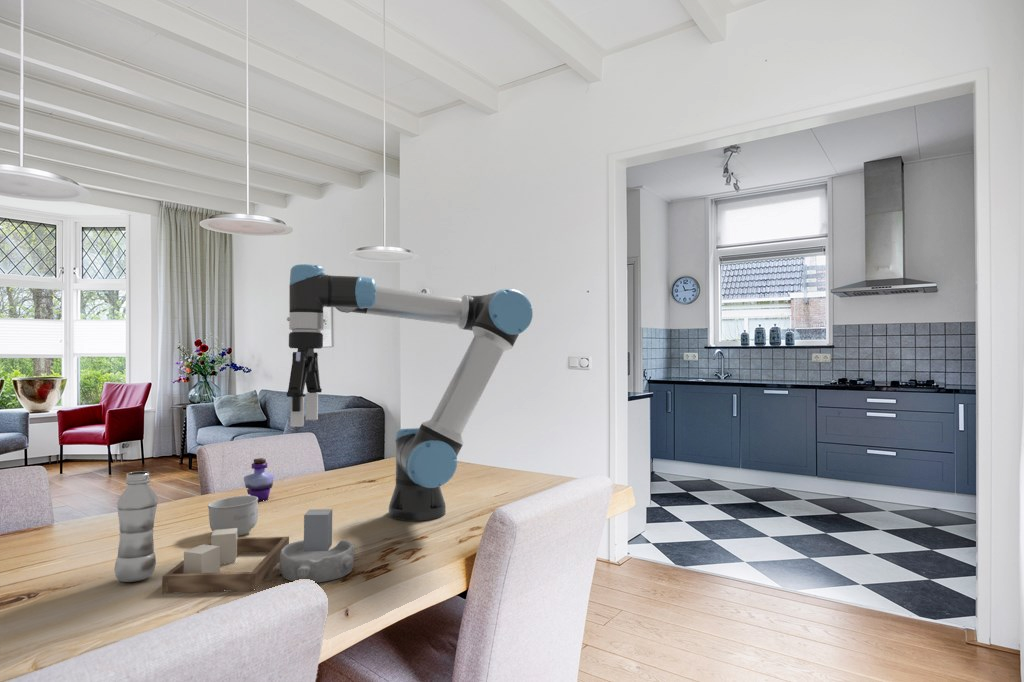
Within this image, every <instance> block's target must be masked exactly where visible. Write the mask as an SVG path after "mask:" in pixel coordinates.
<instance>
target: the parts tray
mask: <svg viewBox="0 0 1024 682" xmlns="http://www.w3.org/2000/svg"><path fill="white" fill-rule="evenodd" d="M288 544H290V535H288V536H256V537H253V536H251V537H250V536H249V537H247V536H246V537H237V554H256V553H257V554H258V553H261V554H262V553H268V554H266V556H264V558H263V559H261V561H260V562H259V563H258V564H257V566H255V568H254V569H253V570H252V571H232V572H231V571H230V572H229V571H226V572H219V573H188V574H184V559H183V560H181V562H179V563H178V564H177V565H175V566H174V567H173V568H171V569H170V570H169V571H168V572H166V573H165V574H164V575H162V577H161V580H162V581H161V593H162V594H174V593H173V592H180V593H181V592H182V593H184V592H186V593H208V592H209V591H217V592H225V591H224V590H229V591H228V592H235V591H234V590H248V591H257V589H258V588H259V587H260V586H261V584H262V583H263V582H264V581H265V580H264V579H267V577H268V576H269V575H270V574H271V572H272V571H273V570H274V569H275V568H276V566H278V564H280V554H281V550H282V549H283V548H284V547H285V546H287V545H288ZM204 545H211V539H210V540H208V541H207V542H205V543H204ZM262 581H263V582H262ZM258 586H259V587H258ZM257 587H258V588H257ZM256 588H257V589H256ZM254 589H255V590H254ZM230 590H231V591H230ZM182 593H181V594H182ZM209 593H210V592H209ZM184 594H185V593H184Z"/></svg>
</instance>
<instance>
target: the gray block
mask: <svg viewBox="0 0 1024 682" xmlns="http://www.w3.org/2000/svg"><path fill="white" fill-rule="evenodd" d="M303 540H304V552H308V551H328V550H330V549H331V546H332V545H333V509H332V508H331V509H330V508H329V509H327V508H324V509H323V508H321V509H308V510H307V511H306V512H305V513H304V514H303Z"/></svg>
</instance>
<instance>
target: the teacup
mask: <svg viewBox="0 0 1024 682" xmlns="http://www.w3.org/2000/svg"><path fill="white" fill-rule="evenodd" d="M258 503H259V502H258V497H256V496H251V495H248V494H244V495H238V496H230V497H228V496H227V497H225V498H224V497H223V498H220V499H216V500H213V501H211V502H209V503H208V504H207V508H208V521H209V526H210V529H211V531H212V532H213V531H214V530H219V529H231V528H237V537H239V536H240V537H241V536H244V535H246V534H248V533H250V532H251V531H252V529H253V528H254V527H255V526H256V525H257V523H258V521H259V504H258Z"/></svg>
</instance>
